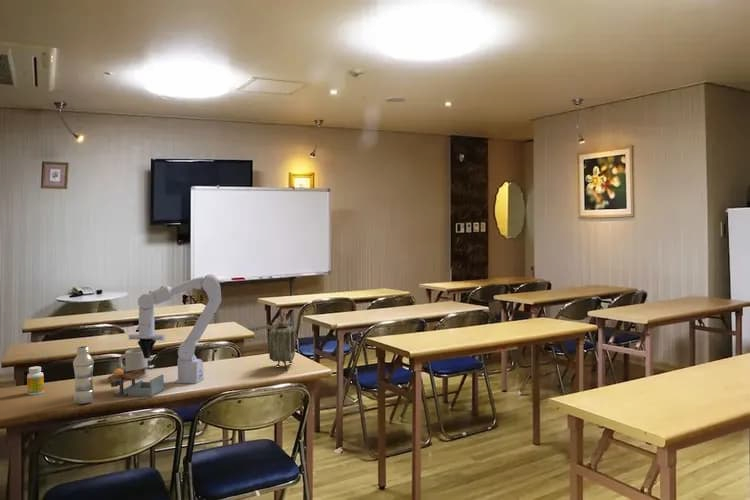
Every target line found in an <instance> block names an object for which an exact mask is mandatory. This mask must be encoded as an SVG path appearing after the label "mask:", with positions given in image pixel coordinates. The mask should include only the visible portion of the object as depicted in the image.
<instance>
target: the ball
mask: <svg viewBox="0 0 750 500" xmlns="http://www.w3.org/2000/svg"><path fill="white" fill-rule="evenodd" d="M124 372H125V371H124V370H122V369H120V367H119V368H115V370H113V374H112V375H114V376H116V375H122V374H124Z"/></svg>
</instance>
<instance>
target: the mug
mask: <svg viewBox="0 0 750 500" xmlns="http://www.w3.org/2000/svg"><path fill="white" fill-rule="evenodd" d="M123 359H125V361H124V362H125V366H124V365H123ZM118 366H119V368H120V369H122V370H123V371H124V372H125V371H131V370H137V369H142V368H143V367H146V366H149V365H148V358H147V359H146V358H144V355H143V352H142V349H141V348H133V349H128V350H126V351H124V353H123V354H121V355H120V356H119V358H118ZM148 370H149V368H148V369H146V370H145V373H146V374H145V375H142V376H140V377H138V378H136V379H135V380H142V379H145V378H147V377H149V371H148ZM130 380H131V381H132V379H130Z"/></svg>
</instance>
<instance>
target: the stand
mask: <svg viewBox="0 0 750 500" xmlns="http://www.w3.org/2000/svg"><path fill="white" fill-rule="evenodd" d="M117 381H118V382H119V384H120V385H119V391H117V392H115V393H113V397H125V398H126V397H129V396H128V387H129V386H128V387H125V388H124V383H123V378H119V379H118V380H117ZM135 383H136V379H132V380H131V385H133V384H135Z"/></svg>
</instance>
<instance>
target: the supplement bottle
mask: <svg viewBox="0 0 750 500" xmlns="http://www.w3.org/2000/svg"><path fill="white" fill-rule="evenodd" d="M41 371H42V367H41V366H38V365H37V366H31V367H28V372H29V373H27V375H26V383H27V384H26V385H27V386H26V387H27V388H26V390H27V395H29V396H30V395H31V396H35V395H40V394H43V393H44V392H45V381H44V380H45V378H44V372H41Z"/></svg>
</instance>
